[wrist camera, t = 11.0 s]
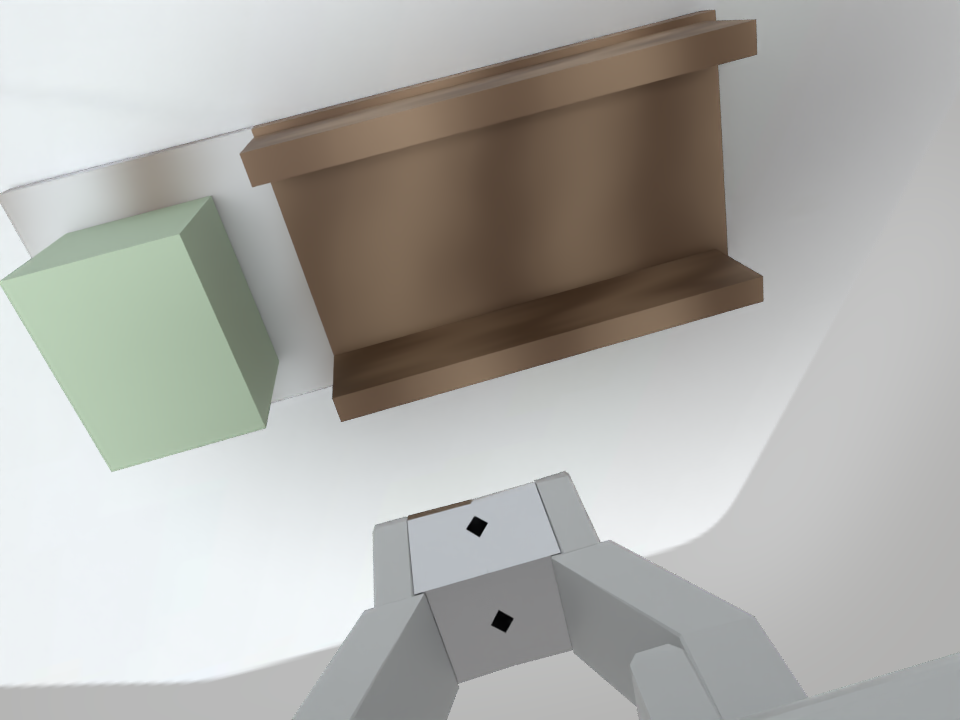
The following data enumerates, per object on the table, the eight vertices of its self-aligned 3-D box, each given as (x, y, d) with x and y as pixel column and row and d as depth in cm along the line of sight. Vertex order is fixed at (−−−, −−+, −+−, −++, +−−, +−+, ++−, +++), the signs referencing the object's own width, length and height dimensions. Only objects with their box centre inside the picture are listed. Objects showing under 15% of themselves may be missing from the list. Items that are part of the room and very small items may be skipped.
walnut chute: (702, 10, 24) (771, 6, 20) (717, 266, 29) (776, 303, 25) (9, 189, 23) (-62, 222, 19) (141, 428, 28) (106, 495, 24)
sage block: (211, 195, 23) (179, 234, 19) (279, 361, 26) (265, 428, 22) (65, 233, 23) (-2, 282, 18) (151, 397, 26) (111, 471, 21)
